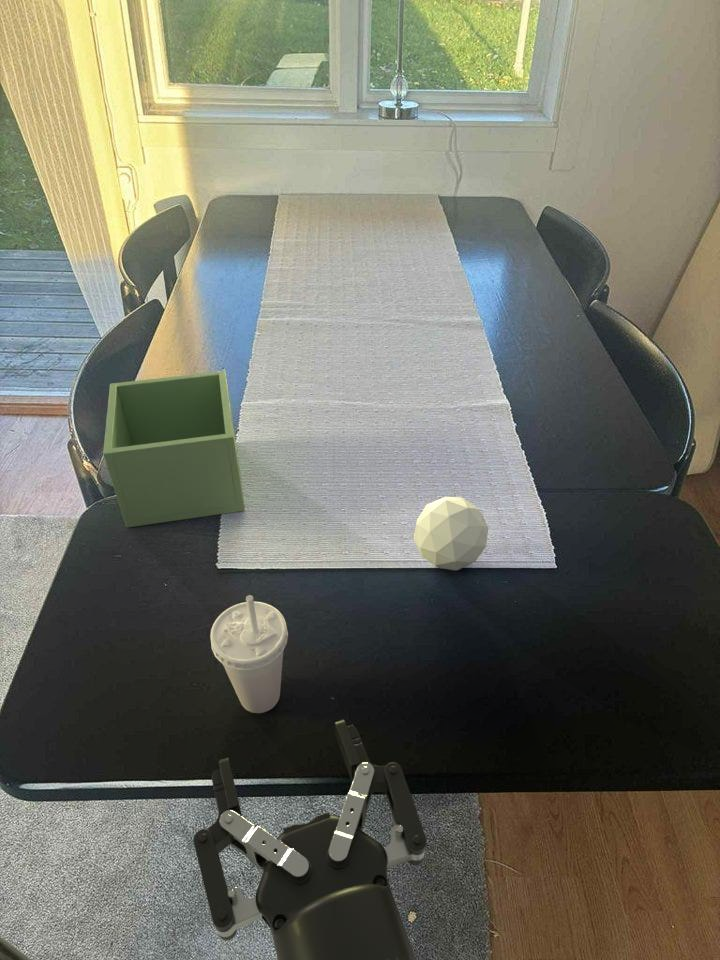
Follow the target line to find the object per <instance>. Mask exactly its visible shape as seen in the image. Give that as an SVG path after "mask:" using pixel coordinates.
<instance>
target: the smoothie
mask: <svg viewBox="0 0 720 960" xmlns="http://www.w3.org/2000/svg"><path fill="white" fill-rule="evenodd" d="M288 631H289V630H288V628H287V622H286V620H285V617H284V615H283V614H282V613H281V612H280V611H279V609H277V608H276V607H274V606H273V605H271V604H268V603H266V602H262V601H254V596H253V595H251V594H249V595H246V596H245V601H244V602H240V603H237V604H234V605H232V606H230V607H228V608H226V609H225V610H224V611H222V612H221V613H220V614H219V615H218V616H217V618H215V621H214V622H213V624H212V627H211V628H210V637H209V639H210V644H211V651H212V653H213V655H214V657H215V658H216V659H217V660H218V662H220V664H222V666H223V668H224V670H225V673H226V675H227V676H228V679H229V681H230V683H231V685H232V687H233V689H234V692H235V694H236V696H237V697H238V700H239V702H240V705H241V706H242V707H243V709H244V710H246V711H248V712H249V713H252V714H263V713H267V712H269V711H270V710H272V709H273V708H275V706H276V705H277V704H278V702H279V700H280V697H281V688H282V687H281V686H282V685H281V684H282V673H283V659H284V658H283V657H284V650H285V649H286V647H287V643H288V639H289V632H288Z"/></svg>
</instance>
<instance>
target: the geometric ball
mask: <svg viewBox="0 0 720 960" xmlns="http://www.w3.org/2000/svg"><path fill="white" fill-rule="evenodd" d="M488 535H489V526H488V523H487V521H486V519H485V517H484V515H483V513H482V510H481V509H480V508H479V507H478V506H476V505H474V504H473V503H471V502H470V501H468V500H467V499H465V498H463V497H457V496H456V497H455V496H454V497H453V496H444V497H441V498H439V499H437V500H434V501H432V502H430V503H427V504H426V505H425V506H424V508H423V509H422V512H420V515H419V517H418V518H417V519H416V524H415V529H414V534H413V540H414V542H415V545H416V547H417V549H418V551H419V554H420V555H421V557H422V558H423V559H424V560H426V561H427V562H429V563H431V564H432V565H434V566H435V567H436V568H438V569H443V570H449V571H456V572H457V571H459V570H461V569H463V568H465V567H467V566H469V565H471V564H474V563H476V561H477V560H478V559H479V557H480V556H481V554H482V553H483V552H484V550H485V549H486V547H487V542H488V537H489V536H488Z"/></svg>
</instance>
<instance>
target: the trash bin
mask: <svg viewBox="0 0 720 960" xmlns="http://www.w3.org/2000/svg"><path fill="white" fill-rule="evenodd" d="M106 411H107V413H106V421H105V430H104V442H103V451H102V455H103V459H104V462H105V465H106V469H107V471H108V474H109V477H110V481H111V484H112V487H113V490H114V494H115V497H116V500H117V503H118V506H119V509H120V511H121V515H122V519H123V521H124V524H125V528H128V529H129V528H133V527H141V526H147V525H154V524H155V525H156V524H161V523H168V522H174V521H183V520H189V519H197V518H203V517H211V516H216V515H224V514H230V513H231V514H232V513H237V512H244V511H245V510H246V509H245V502H244V495H243V488H242V487H243V486H242V479H241V478H242V477H241V472H240V471H241V470H240V463H239V455H238V447H237V441H236V440H237V439H236V434H235V427H234V421H233V420H234V419H233V414H232V413H233V412H232V406H231V400H230V393H229V387H228V381H227V374H226V370H219V371H211V372H201V373H193V374H192V373H191V374H185V375H175V376H174V375H173V376H165V377H158V378H149V379H139V380H131V381H121V382H113V383H110V384H109V392H108V402H107V410H106Z"/></svg>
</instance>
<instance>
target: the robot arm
mask: <svg viewBox="0 0 720 960" xmlns="http://www.w3.org/2000/svg"><path fill="white" fill-rule="evenodd" d="M334 736H335V738H336V741H337V744H338V747H339V750H340V753H341V755H342V758H343V761H344V764H345V767H346V770H347V772H348V775H349V778H350V781H351V785H350V788H349V791H347V794H346V797H345V800H344V803H343V806H342V810H341V813H340V815H337V814H330V811H328V812H325V813H321V814H319V815H317V816H315V817H313V819H311V820H310V821H308V822H306V823H296V824H295V823H294V824H291V825H289V826H286V827H284V828H282V829H283V832H282V833H280V834H279V835H278V836H277V837H275V836H274V835H272V834H271V833H270V832H269V831H266V829H264V828H263V827H261V826H260V825H257V824H253V823H252V822H250V821H249V820H248V819H246V818H244V817H243V814H242V813H243V812H242V809H241V806H240V802H239V801H240V800H239V796H238V793H237V789H236V784H235V780H234V775H233V771H232V767H231V763H230V759H229V757H226V758H222V759H219V760H218V765H219V768H218V769H215V770H213V771H212V775H211V782H212V788H213V792H214V796H215V802H216V806H217V813H218V815H217V818H216V821H214V823H213V824H211V825H210V826H209V827H207V828H202V829H199V830H197V831H196V833H195V834H194V836H193V846H194V849H195V854H196V858H197V862H198V866H199V871H200V875H201V879H202V883H203V887H204V892H205V895H206V899H207V903H208V907H209V911H210V915H211V920H212V923H213V926H214V928H215V930H216V932H217V935H218V936H219V938H220V939H221V940H222V941H225V942H228V941H231V940H233V939H234V938H235V937H236V935H237V933H238V931H239V929H241V928H244V927H246V926H247V925H249V924H252V923H255V922H256V921H258V920H260V919H262V920H263V921H264V922H265V924H266V925H267V926H268V928H269V929H270V932H271V936H272V940H273V945H274V949H275V950H274V951H275V954H276V959H277V960H417V958H416V956H415V953H414V950H413V946H412V944H411V942H410V938H409V936H408V933H407V930H406V927H405V925H404V922H403V919H402V916H401V914H400V911H399V907H398V906H397V902H396V900H395V897H394V895H393V892H392V889H391V886H390V883H389V878H388V869H389V868H392V867H395V866H398V865H401V864H405V863H407V862H408V863H409V864H410V865H412V866H419V865H421V864H422V863H423V862H424V860H425V856H426V848H427V837H426V834H425V831H424V829H423V825H422V822H421V820H420V816H419V813H418V811H417V808H416V805H415V803H414V799H413V797H412V794H411V791H410V788H409V784H408V782H407V780H406V776H405V775H404V772H403V768H402V766H401V765H400V764H399V763H398V762H396V761H395V762H394V761H393V762H389V763H387V764H386V765H376V764H374V763H372V761H371V760H370V759H369V756H368V753H367V751H366V748H365V746H364V744H363V740H362V738H361V735H360V733H359V730H358V729H357V728H356V727H355V726H354V725H353V724H351V725H350V724H349V725H347V722H346V720H345V719H341V720H338V721H335V722H334ZM373 793H385V796H386V799H387V802H388V805H389V808H390V811H391V815H392V818H393V820H394V825H393V826H391V828H390V831H389V843H388V845H387V846H385V847H384V846H383V845H382V843H380V842H379V841H377V840H376V839H374V838H373V837H372V836H370V835H369V834H367V833H366V832H365V831H363V830H364V827H365V824H366V818H367V814H368V809H369V807H370V803H371V799H372V797H373ZM229 846H230V847H232V848H234V849H235V850H236V851H238V852H239V853H240V854H242V855H243V856H244V857H246V858H247V859H248V861H249V862H250V863H251V864H252V865H253V866H255V867H256V868H257V869H259V870H260V871H261V872H262V875H261V877H260V880H259V883H258V885H257V886H258V887H257V889H256V892H255V897H254V898H248V897H246V896H245V895H244V894H243V891H242V890H241V889H240V887H238V886H231V887H229V888H228V884H227V880H226V876H225V873H224V870H223V869H224V868H223V866H222V862H221V858H220V855H219V854H220V853H221V852H222V851H224V850H225V849H226V848H227V847H229ZM0 960H32V959H31V958H30V957H28V956H27V955H26V954H25V953H23V952H22V951H21V950H19V949H18V948H17V947H16V946H14V945H13V944H12V943H10V942H9V941H8V940H6V939H4V938H3V937H2V936H0Z"/></svg>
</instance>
